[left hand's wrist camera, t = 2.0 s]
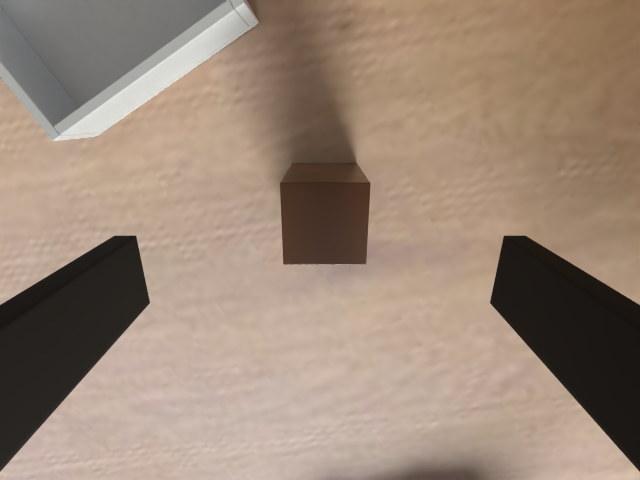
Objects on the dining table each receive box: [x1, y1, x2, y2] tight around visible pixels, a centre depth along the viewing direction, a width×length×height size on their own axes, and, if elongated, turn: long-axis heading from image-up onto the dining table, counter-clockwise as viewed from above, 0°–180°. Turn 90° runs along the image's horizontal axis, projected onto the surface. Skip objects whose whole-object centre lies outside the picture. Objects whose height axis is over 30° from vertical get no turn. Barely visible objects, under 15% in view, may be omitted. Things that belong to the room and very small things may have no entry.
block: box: [280, 163, 370, 265], centre depth 21 cm, size 4×4×7 cm
